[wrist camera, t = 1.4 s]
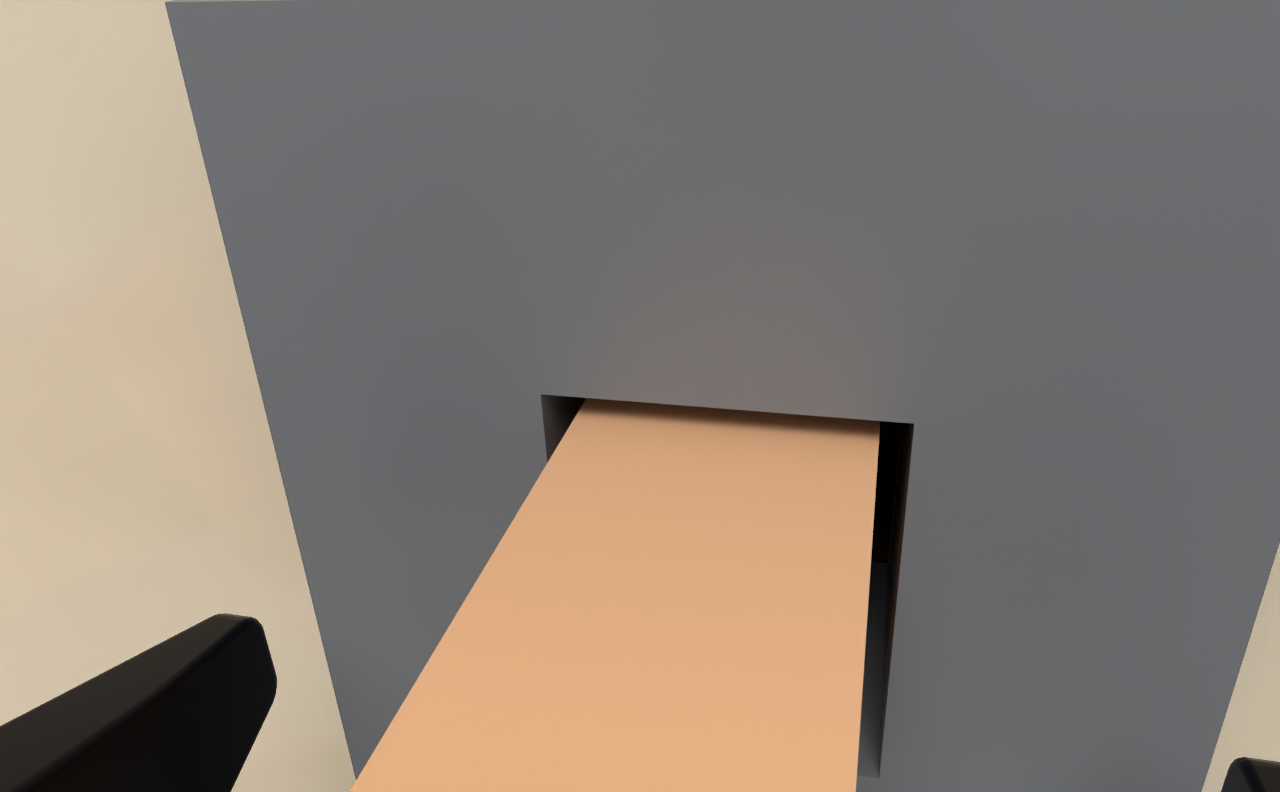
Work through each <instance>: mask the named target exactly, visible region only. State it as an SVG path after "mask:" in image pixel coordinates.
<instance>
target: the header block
mask: <svg viewBox="0 0 1280 792" xmlns="http://www.w3.org/2000/svg"><path fill="white" fill-rule="evenodd" d="M165 5H166V9H167V13H168V17H169V21H170V25H171V29H172V33H173V37H174V41H175V45H176V49H177V53H178V57H179V61H180V66H181V70H182V74H183V78H184V82H185V86H186V90H187V94H188V98H189V102H190V106H191V110H192V114H193V118H194V122H195V127H196V131H197V135H198V139H199V143H200V147H201V151H202V155H203V159H204V163H205V167H206V171H207V175H208V179H209V183H210V188H211V192H212V196H213V200H214V204H215V208H216V212H217V216H218V220H219V224H220V228H221V232H222V236H223V240H224V244H225V249H226V253H227V257H228V261H229V265H230V269H231V273H232V277H233V281H234V285H235V289H236V293H237V297H238V301H239V305H240V309H241V314H242V318H243V322H244V326H245V330H246V334H247V338H248V342H249V346H250V350H251V354H252V358H253V362H254V366H255V370H256V375H257V379H258V383H259V387H260V391H261V395H262V399H263V403H264V407H265V411H266V415H267V419H268V423H269V427H270V431H271V436H272V440H273V444H274V448H275V452H276V456H277V460H278V464H279V468H280V472H281V476H282V480H283V484H284V488H285V492H286V497H287V501H288V505H289V509H290V513H291V517H292V521H293V525H294V529H295V533H296V537H297V541H298V545H299V549H300V553H301V558H302V562H303V566H304V570H305V574H306V578H307V582H308V586H309V590H310V594H311V598H312V602H313V606H314V610H315V614H316V619H317V623H318V627H319V631H320V635H321V639H322V643H323V647H324V651H325V655H326V659H327V663H328V667H329V671H330V675H331V679H332V684H333V688H334V692H335V696H336V700H337V704H338V708H339V712H340V716H341V720H342V724H343V728H344V732H345V736H346V740H347V745H348V749H349V753H350V757H351V761H352V765H353V769H354V773H355V777H356V780H357V778H358V777H359V775H360V774H361V772H362V770H363V769H364V767H365V765H366V764H367V762H368V760H369V759H370V757H371V755H372V754H373V752H374V750H375V749H376V747H377V745H378V744H379V742H380V740H381V739H382V737H383V735H384V734H385V732H386V730H387V729H388V727H389V725H390V724H391V722H392V720H393V719H394V717H395V715H396V714H397V712H398V710H399V709H400V707H401V705H402V704H403V702H404V700H405V699H406V697H407V695H408V694H409V692H410V690H411V689H412V687H413V685H414V684H415V682H416V680H417V679H418V677H419V676H420V674H421V672H422V671H423V669H424V667H425V666H426V664H427V662H428V661H429V659H430V657H431V656H432V654H433V652H434V651H435V649H436V647H437V646H438V644H439V642H440V641H441V639H442V637H443V636H444V634H445V632H446V631H447V629H448V627H449V626H450V624H451V622H452V621H453V619H454V617H455V616H456V614H457V612H458V611H459V609H460V607H461V606H462V604H463V602H464V601H465V599H466V597H467V596H468V594H469V592H470V591H471V589H472V587H473V586H474V584H475V582H476V581H477V579H478V578H479V576H480V574H481V573H482V571H483V569H484V568H485V566H486V564H487V563H488V561H489V559H490V558H491V556H492V554H493V553H494V551H495V549H496V548H497V546H498V544H499V543H500V541H501V539H502V538H503V536H504V534H505V533H506V531H507V529H508V528H509V526H510V524H511V523H512V521H513V519H514V518H515V516H516V514H517V513H518V511H519V509H520V508H521V506H522V504H523V503H524V501H525V499H526V498H527V496H528V494H529V493H530V491H531V489H532V488H533V486H534V484H535V483H536V481H537V480H538V478H539V476H540V475H541V473H542V471H543V470H544V468H545V466H546V465H547V463H548V461H549V460H550V458H551V456H552V455H553V453H554V451H555V450H556V448H557V446H558V445H559V443H560V441H561V440H562V438H563V436H564V435H565V433H566V431H567V430H568V428H569V426H570V425H571V423H572V421H573V420H574V418H575V416H576V415H577V413H578V411H579V410H580V408H581V406H582V405H583V403H584V401H585V400H586V398H595V399H607V400H620V401H633V402H645V403H658V404H671V405H683V406H696V407H709V408H722V409H734V410H747V411H760V412H772V413H785V414H798V415H811V416H823V417H836V418H849V419H861V420H874V421H887V422H899V423H901V431H900V442H899V453H898V463H897V474H896V485H895V496H894V507H893V518H892V529H891V540H890V550H889V561H888V563H880V562H871V569H870V584H869V599H868V615H867V630H866V645H865V660H864V675H863V690H862V705H861V720H860V735H859V750H858V765H857V781H856V792H1201V791H1202V788H1203V785H1204V782H1205V778H1206V775H1207V772H1208V769H1209V766H1210V762H1211V759H1212V756H1213V753H1214V750H1215V747H1216V743H1217V740H1218V737H1219V734H1220V731H1221V727H1222V724H1223V721H1224V718H1225V715H1226V712H1227V708H1228V705H1229V702H1230V699H1231V696H1232V692H1233V689H1234V686H1235V683H1236V680H1237V676H1238V673H1239V670H1240V667H1241V664H1242V661H1243V657H1244V654H1245V651H1246V648H1247V645H1248V641H1249V638H1250V635H1251V632H1252V629H1253V626H1254V622H1255V619H1256V616H1257V613H1258V610H1259V606H1260V603H1261V600H1262V597H1263V594H1264V590H1265V587H1266V584H1267V581H1268V578H1269V575H1270V571H1271V568H1272V565H1273V562H1274V559H1275V555H1276V552H1277V549H1278V546H1279V543H1280V0H173V1H168V2H165Z"/></svg>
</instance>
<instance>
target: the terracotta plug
mask: <svg viewBox="0 0 1280 792" xmlns="http://www.w3.org/2000/svg"><path fill="white" fill-rule="evenodd" d="M879 434H880V421H874V420H861V419H849V418H836V417H823V416H811V415H798V414H785V413H772V412H760V411H747V410H734V409H722V408H709V407H696V406H683V405H671V404H658V403H645V402H633V401H620V400H607V399H595V398H586V400H585V401H584V403H583V405H582V406H581V408H580V410H579V411H578V413H577V415H576V416H575V418H574V420H573V421H572V423H571V425H570V426H569V428H568V430H567V431H566V433H565V435H564V436H563V438H562V440H561V441H560V443H559V445H558V446H557V448H556V450H555V451H554V453H553V455H552V456H551V458H550V460H549V461H548V463H547V465H546V466H545V468H544V470H543V471H542V473H541V475H540V476H539V478H538V480H537V481H536V483H535V484H534V486H533V488H532V489H531V491H530V493H529V494H528V496H527V498H526V499H525V501H524V503H523V504H522V506H521V508H520V509H519V511H518V513H517V514H516V516H515V518H514V519H513V521H512V523H511V524H510V526H509V528H508V529H507V531H506V533H505V534H504V536H503V538H502V539H501V541H500V543H499V544H498V546H497V548H496V549H495V551H494V553H493V554H492V556H491V558H490V559H489V561H488V563H487V564H486V566H485V568H484V569H483V571H482V573H481V574H480V576H479V578H478V579H477V581H476V582H475V584H474V586H473V587H472V589H471V591H470V592H469V594H468V596H467V597H466V599H465V601H464V602H463V604H462V606H461V607H460V609H459V611H458V612H457V614H456V616H455V617H454V619H453V621H452V622H451V624H450V626H449V627H448V629H447V631H446V632H445V634H444V636H443V637H442V639H441V641H440V642H439V644H438V646H437V647H436V649H435V651H434V652H433V654H432V656H431V657H430V659H429V661H428V662H427V664H426V666H425V667H424V669H423V671H422V672H421V674H420V676H419V677H418V679H417V680H416V682H415V684H414V685H413V687H412V689H411V690H410V692H409V694H408V695H407V697H406V699H405V700H404V702H403V704H402V705H401V707H400V709H399V710H398V712H397V714H396V715H395V717H394V719H393V720H392V722H391V724H390V725H389V727H388V729H387V730H386V732H385V734H384V735H383V737H382V739H381V740H380V742H379V744H378V745H377V747H376V749H375V750H374V752H373V754H372V755H371V757H370V759H369V760H368V762H367V764H366V765H365V767H364V769H363V770H362V772H361V774H360V775H359V777H358V778H357V780H356V782H355V783H354V785H353V787H352V788H351V790H350V792H856V781H857V765H858V750H859V735H860V720H861V705H862V690H863V675H864V660H865V645H866V630H867V615H868V599H869V584H870V569H871V554H872V539H873V524H874V509H875V494H876V479H877V464H878V449H879Z"/></svg>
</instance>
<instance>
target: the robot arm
mask: <svg viewBox="0 0 1280 792" xmlns="http://www.w3.org/2000/svg"><path fill="white" fill-rule="evenodd" d="M276 688H277V677H276V672H275V669H274V665H273V662H272V658H271V655H270V651H269V647H268V644H267V640H266V637H265V633H264V630H263V627H262V625H261V624H260V623H259V622H258V620H257V619H254V618H252V617H247V616H240V615H233V614H226V613H225V614H217V615H214V616H212V617H210V618H208V619H206V620H204V621H202V622H200V623H198V624H196V625H194V626H192V627H191V628H189V629H187V630H185V631H183V632H181V633H179V634H177V635H175V636H173V637H171V638H169V639H167V640H166V641H164V642H162V643H160V644H158V645H156V646H154V647H152V648H150V649H148V650H146V651H144V652H142V653H140V654H139V655H137V656H135V657H133V658H131V659H129V660H127V661H125V662H123V663H121V664H119V665H117V666H115V667H114V668H112V669H110V670H108V671H106V672H104V673H102V674H100V675H98V676H96V677H94V678H92V679H90V680H88V681H87V682H85V683H83V684H81V685H79V686H77V687H75V688H73V689H71V690H69V691H67V692H65V693H63V694H61V695H60V696H58V697H56V698H54V699H52V700H50V701H48V702H46V703H44V704H42V705H40V706H38V707H36V708H34V709H33V710H31V711H29V712H27V713H25V714H23V715H21V716H19V717H17V718H15V719H13V720H11V721H9V722H7V723H6V724H4V725H2V726H0V792H231V790H232V788H233V786H234V784H235V782H236V780H237V777H238V775H239V773H240V771H241V769H242V767H243V765H244V763H245V761H246V758H247V756H248V754H249V752H250V750H251V748H252V746H253V744H254V742H255V739H256V737H257V735H258V733H259V731H260V729H261V727H262V725H263V723H264V720H265V718H266V716H267V714H268V712H269V710H270V708H271V706H272V703H273V701H274V698H275V694H276ZM1221 792H1280V762H1275V761H1268V760H1261V759H1254V758H1247V757H1242V758H1237V759H1235V760H1234V761H1233V762H1232V764H1231V765H1230V767H1229V769H1228V772H1227V775H1226V778H1225V781H1224V784H1223V788H1222V791H1221Z"/></svg>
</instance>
